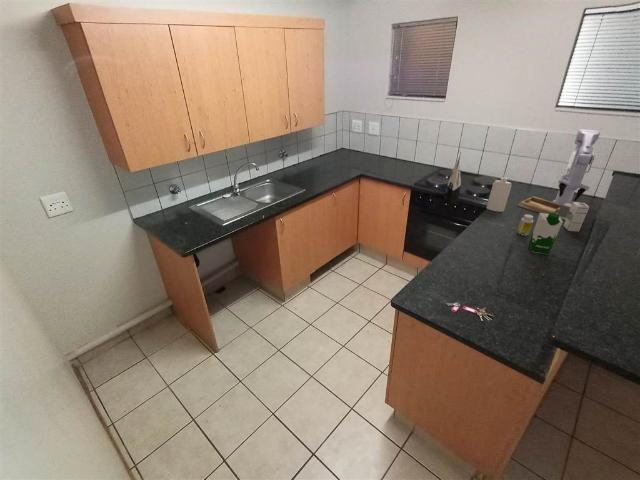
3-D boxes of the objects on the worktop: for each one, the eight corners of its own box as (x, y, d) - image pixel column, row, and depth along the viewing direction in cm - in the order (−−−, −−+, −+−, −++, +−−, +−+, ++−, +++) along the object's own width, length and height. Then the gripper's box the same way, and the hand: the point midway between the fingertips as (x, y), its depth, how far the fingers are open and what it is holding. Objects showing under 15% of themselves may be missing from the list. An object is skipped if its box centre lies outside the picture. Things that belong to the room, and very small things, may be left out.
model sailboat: (459, 192, 218) (469, 148, 203) (457, 205, 199) (468, 158, 184) (444, 190, 222) (453, 147, 206) (441, 203, 202) (451, 156, 187)
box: (562, 212, 188) (566, 202, 185) (570, 214, 185) (574, 205, 182) (557, 215, 185) (561, 205, 182) (564, 217, 182) (569, 207, 179)
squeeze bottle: (486, 206, 198) (485, 209, 194) (495, 175, 188) (494, 178, 184) (504, 209, 193) (503, 212, 190) (513, 178, 183) (513, 180, 180)
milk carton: (529, 253, 151) (544, 215, 141) (525, 244, 159) (539, 207, 148) (550, 256, 149) (567, 218, 139) (545, 247, 156) (561, 210, 146)
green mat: (561, 211, 191) (562, 210, 191) (575, 215, 186) (575, 214, 186) (552, 216, 185) (552, 215, 185) (565, 220, 180) (565, 219, 180)
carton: (532, 200, 205) (533, 195, 204) (562, 209, 192) (564, 205, 191) (518, 206, 197) (519, 202, 196) (549, 216, 184) (551, 212, 183)
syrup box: (579, 231, 169) (590, 206, 162) (566, 230, 170) (577, 206, 163) (574, 226, 174) (585, 202, 166) (562, 225, 175) (572, 201, 167)
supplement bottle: (531, 234, 167) (537, 217, 162) (523, 236, 165) (529, 219, 160) (522, 230, 171) (528, 212, 166) (514, 231, 170) (520, 214, 164)
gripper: (559, 173, 179) (550, 196, 186) (589, 180, 168) (579, 204, 175) (565, 171, 182) (556, 193, 189) (595, 178, 172) (584, 201, 179)
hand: (567, 198), depth 182 cm, fingers open, 7 cm apart
